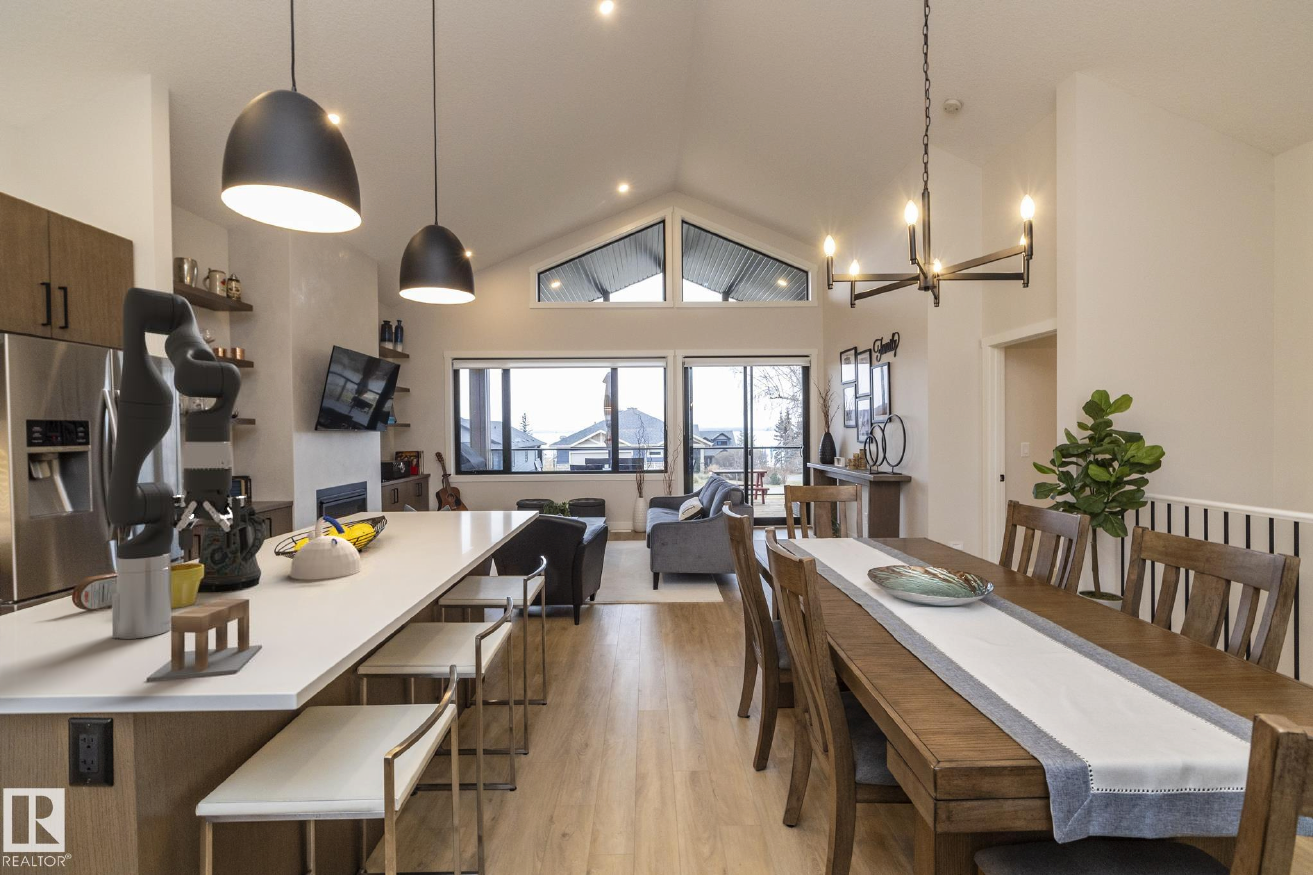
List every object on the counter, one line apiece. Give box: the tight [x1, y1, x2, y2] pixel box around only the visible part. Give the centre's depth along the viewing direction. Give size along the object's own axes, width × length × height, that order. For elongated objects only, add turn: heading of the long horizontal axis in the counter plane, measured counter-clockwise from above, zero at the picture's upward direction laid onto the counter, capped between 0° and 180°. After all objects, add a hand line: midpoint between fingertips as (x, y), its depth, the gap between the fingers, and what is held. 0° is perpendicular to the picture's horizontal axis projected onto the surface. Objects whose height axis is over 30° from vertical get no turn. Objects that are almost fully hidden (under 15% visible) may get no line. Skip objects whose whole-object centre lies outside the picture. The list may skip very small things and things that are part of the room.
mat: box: [146, 644, 263, 682], centre depth 119 cm, size 14×14×1 cm
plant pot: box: [171, 562, 204, 609], centre depth 160 cm, size 10×10×10 cm
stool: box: [170, 598, 250, 671], centre depth 120 cm, size 10×6×12 cm
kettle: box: [289, 515, 362, 581], centre depth 198 cm, size 20×21×18 cm
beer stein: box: [197, 505, 267, 594], centre depth 180 cm, size 16×19×25 cm
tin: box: [71, 572, 117, 612], centre depth 159 cm, size 15×3×8 cm, turn 159°
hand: (207, 550), depth 119 cm, fingers open, 8 cm apart
